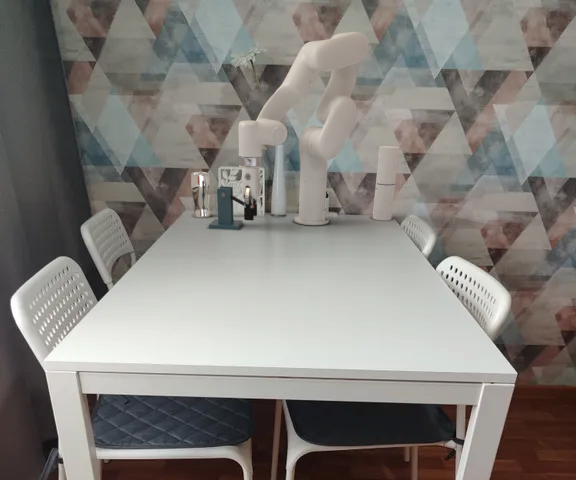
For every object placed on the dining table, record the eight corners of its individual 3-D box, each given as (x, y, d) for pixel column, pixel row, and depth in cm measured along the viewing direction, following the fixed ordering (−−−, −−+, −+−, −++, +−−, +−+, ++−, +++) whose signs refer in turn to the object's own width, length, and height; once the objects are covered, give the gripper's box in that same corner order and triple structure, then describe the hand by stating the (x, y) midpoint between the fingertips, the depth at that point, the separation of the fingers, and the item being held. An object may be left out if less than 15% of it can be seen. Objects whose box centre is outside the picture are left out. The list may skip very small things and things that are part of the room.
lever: (252, 210, 190) (255, 204, 189) (250, 213, 186) (253, 207, 185) (221, 193, 189) (224, 186, 188) (218, 195, 184) (221, 189, 183)
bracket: (242, 223, 195) (241, 186, 189) (237, 229, 187) (236, 190, 181) (214, 222, 196) (213, 184, 190) (209, 228, 188) (207, 189, 182)
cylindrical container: (382, 221, 204) (389, 148, 192) (368, 217, 209) (375, 146, 197) (395, 218, 208) (403, 147, 196) (381, 215, 213) (389, 145, 201)
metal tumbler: (210, 218, 202) (208, 175, 194) (191, 217, 202) (188, 174, 194) (212, 214, 208) (211, 172, 201) (194, 213, 208) (192, 171, 201)
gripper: (257, 166, 173) (257, 224, 181) (265, 159, 188) (265, 213, 196) (233, 165, 173) (235, 222, 182) (243, 158, 188) (244, 212, 197)
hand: (250, 217), depth 189 cm, fingers open, 6 cm apart
